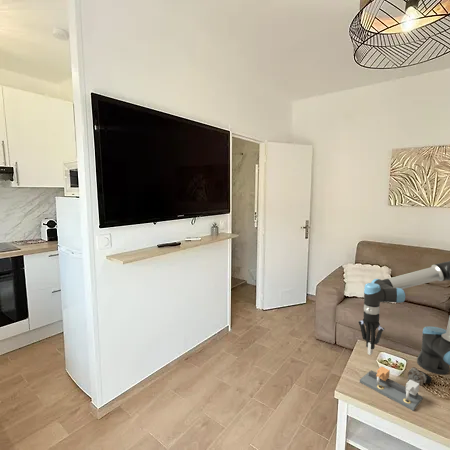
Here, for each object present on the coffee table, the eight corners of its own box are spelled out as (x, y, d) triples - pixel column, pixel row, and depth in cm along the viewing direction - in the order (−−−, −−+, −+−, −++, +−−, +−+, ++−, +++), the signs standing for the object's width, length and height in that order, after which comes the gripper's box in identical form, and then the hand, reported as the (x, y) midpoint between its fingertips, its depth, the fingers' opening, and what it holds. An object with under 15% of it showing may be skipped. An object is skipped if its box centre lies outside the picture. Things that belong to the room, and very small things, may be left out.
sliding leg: (381, 375, 147) (381, 366, 147) (389, 379, 144) (389, 370, 144) (373, 382, 142) (373, 373, 141) (381, 386, 139) (382, 377, 138)
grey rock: (426, 382, 150) (432, 391, 140) (403, 372, 154) (407, 380, 145) (430, 370, 149) (436, 379, 140) (406, 361, 154) (410, 369, 145)
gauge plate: (369, 373, 153) (370, 360, 152) (422, 399, 133) (423, 384, 133) (359, 382, 146) (360, 368, 145) (413, 411, 126) (414, 395, 125)
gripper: (356, 310, 150) (355, 350, 152) (381, 318, 139) (379, 361, 142) (362, 306, 154) (361, 346, 156) (387, 314, 144) (385, 356, 146)
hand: (370, 353), depth 149 cm, fingers closed
